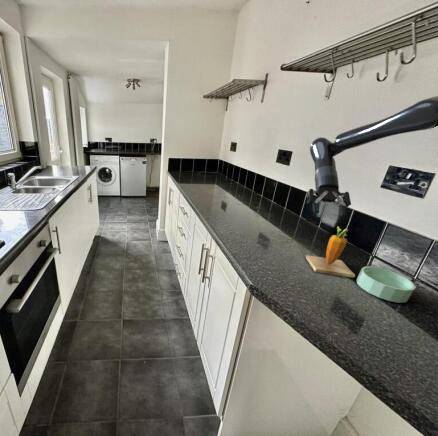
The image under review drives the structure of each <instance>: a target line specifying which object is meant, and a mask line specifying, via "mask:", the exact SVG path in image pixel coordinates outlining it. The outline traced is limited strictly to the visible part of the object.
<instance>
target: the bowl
mask: <svg viewBox="0 0 438 436" xmlns="http://www.w3.org/2000/svg"><path fill="white" fill-rule="evenodd" d="M356 284H357V285H358V286H359V287H360V288H361V289H362V290H364V291H365V292H367V293H368V294H370V295H373V296H374V297H377V298H379V299H382V300H385V301H387V302H393V303H399V304H401V303H407V302H408V301H409V300H410V298H411V297H412V295H413V294H414V292H415V290H416V288H417V286H416V285H415V283H414V282H413V281H412V280H410V279H409V278H408V277H405V276H404V275H402V274H400V273H398V272H395V271H392V270H390V269H386V268H382V267H379V266H374V265H373V266H372V265H369V266H366V265H365V266H363V267H362V268H361V269H360V271H359V273H358V275H357V278H356Z"/></svg>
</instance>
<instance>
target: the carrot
mask: <svg viewBox="0 0 438 436" xmlns="http://www.w3.org/2000/svg"><path fill="white" fill-rule="evenodd" d="M336 229H337V231H336V232H337V233H336V234H333V235H331V237H330V238H329V240H328V243H327V245H326V251H325V258H326V259H327V263H328V264H332V263H333V262H335V261H336V260H338V259H339V257H340V256H341V254H342V253H343V251H344V249H345V247H346V245H347V243H348V239H347V238H346V237H347V236H348V234H346V233H347V232H348V231H349V229H348V228H345V229H343V230H342V229H341V228H340V226H336Z"/></svg>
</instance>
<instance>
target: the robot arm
mask: <svg viewBox="0 0 438 436" xmlns="http://www.w3.org/2000/svg"><path fill="white" fill-rule="evenodd" d="M436 126H438V95H436V96H435V95H434V96H432V97H431V96H430V97H428V98H425V99H422V100H420V101H417V102H416V103H414V104H412V105H411V106H408V107H407V108H404V109H403V110H400V111H398V112H396V113H394V114H392V115H390V116H388V117H385V118H383V119H380V120H377V121H375V122H371V123H367V124H365V125H361V126H358V127H355V128H352V129H349V130H347V131H344V132H342V133H339V134H337V136H335V137H334V142H332V141H331V140H329V139H328V138H326V137H322V136H321V137H317V138H315V139H314V140H313V141H312V142H311V144H310V146H309V153H310V156H311V159H312V161H313V163H314V183H315V184H314V185H315V190H314V188H309V189H308V191H306V204H307V205H311V206H312V212H313V213H314V215H318V214H319V213H320V204H319V203H320V201H321V202H323V203H326V202H327V203H332V204H333V205H334V206H337V207H338V209H337V210H338V217H339V218H340V217H341V218H343V217H344V216H345V215H346V214H347V208H348V207H350V206H351V205H352V202H351V196H350V192H349V191H345V192H340V185H339V184H340V183H339V176H338V175H339V174H338V171H337V166H336V165H337V163H336V160H335V158H334V157H335V156H337V155H339V154H341V153H343V152H344V151H347V150H351V149H354V148H356V147H360V146H364V145H366V144H369V143H373V142H375V141H378V140H381V139H384V138H388V137H391V136H396V135H401V134H402V135H403V134H406V133H407V134H408V133H413V132H418V131H419V132H420V131H426V130H432V129H431V128H434V127H436ZM314 195H315V196H316V197H317V198H316V199H314Z"/></svg>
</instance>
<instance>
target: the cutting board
mask: <svg viewBox="0 0 438 436" xmlns="http://www.w3.org/2000/svg"><path fill="white" fill-rule="evenodd" d="M305 259H306V261H307V263H308V264H309V265H310V267H311V268H312V269H313V271H314V272H315V273H321V274H327V275H334V276H339V277H344V278H345V277H346V278H352V279H354V278H355V277H356V274H355V273H354V272H353V271H352V270H351V269H350V268H349V267H348V266H347V264H345V263H344V261H343V260H341V259H337V260H336V261H335V262H333V263H332V264H328V263H327V259H326V257H323V256H322V257H321V256H314V255H309V254H306V255H305Z"/></svg>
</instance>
